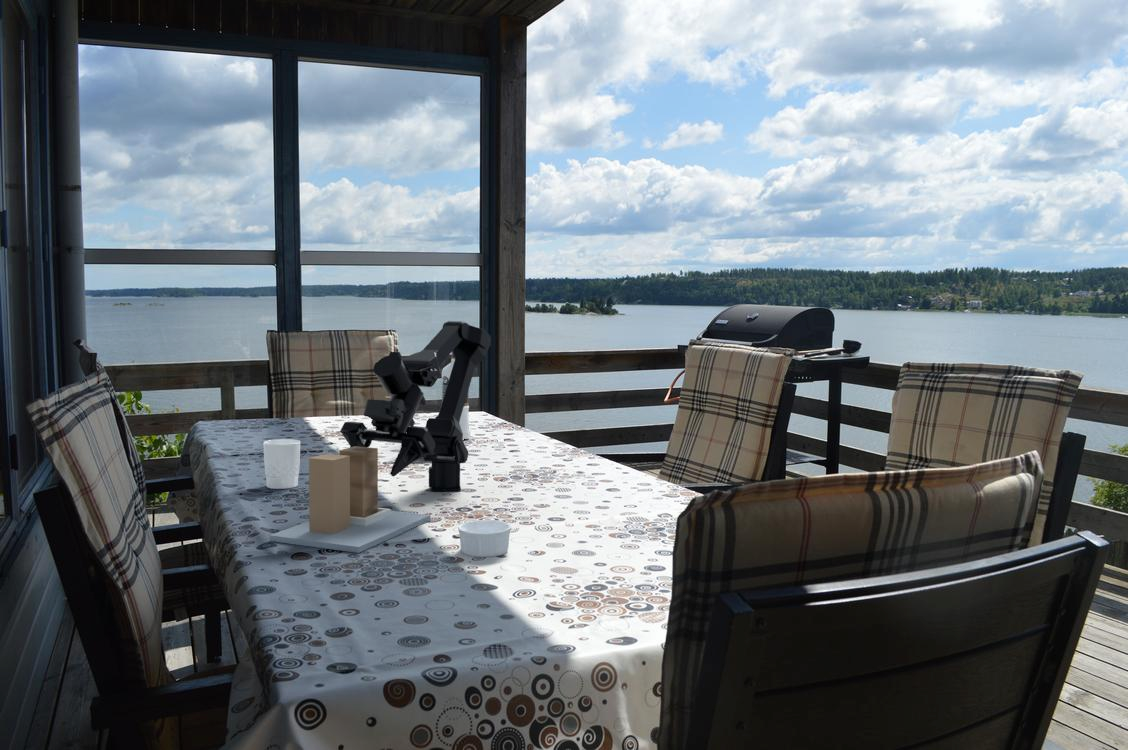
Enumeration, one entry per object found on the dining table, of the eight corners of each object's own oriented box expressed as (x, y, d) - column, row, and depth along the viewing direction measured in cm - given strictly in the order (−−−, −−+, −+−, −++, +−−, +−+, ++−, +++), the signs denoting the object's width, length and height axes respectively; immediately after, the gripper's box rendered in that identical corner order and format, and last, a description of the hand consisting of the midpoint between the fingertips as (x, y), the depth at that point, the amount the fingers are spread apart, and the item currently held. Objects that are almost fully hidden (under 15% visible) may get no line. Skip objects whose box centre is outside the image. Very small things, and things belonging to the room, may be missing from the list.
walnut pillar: (355, 513, 168) (354, 446, 167) (377, 516, 166) (377, 448, 165) (339, 519, 163) (339, 450, 162) (362, 522, 161) (362, 452, 160)
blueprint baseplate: (350, 511, 174) (350, 441, 173) (430, 520, 168) (430, 447, 166) (269, 540, 151) (268, 460, 150) (358, 552, 145) (358, 469, 144)
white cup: (266, 491, 191) (266, 445, 190) (261, 484, 198) (260, 440, 197) (303, 488, 194) (303, 443, 194) (297, 481, 201) (296, 438, 201)
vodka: (475, 439, 267) (476, 341, 264) (448, 442, 261) (449, 341, 259) (461, 435, 274) (461, 339, 272) (434, 437, 269) (434, 339, 266)
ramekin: (489, 562, 142) (490, 535, 141) (447, 553, 146) (447, 527, 146) (521, 549, 149) (521, 524, 149) (479, 541, 154) (479, 517, 153)
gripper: (345, 381, 174) (311, 444, 165) (427, 385, 168) (397, 452, 158) (367, 415, 182) (336, 478, 173) (447, 421, 176) (419, 486, 166)
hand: (371, 473), depth 168 cm, fingers open, 9 cm apart
